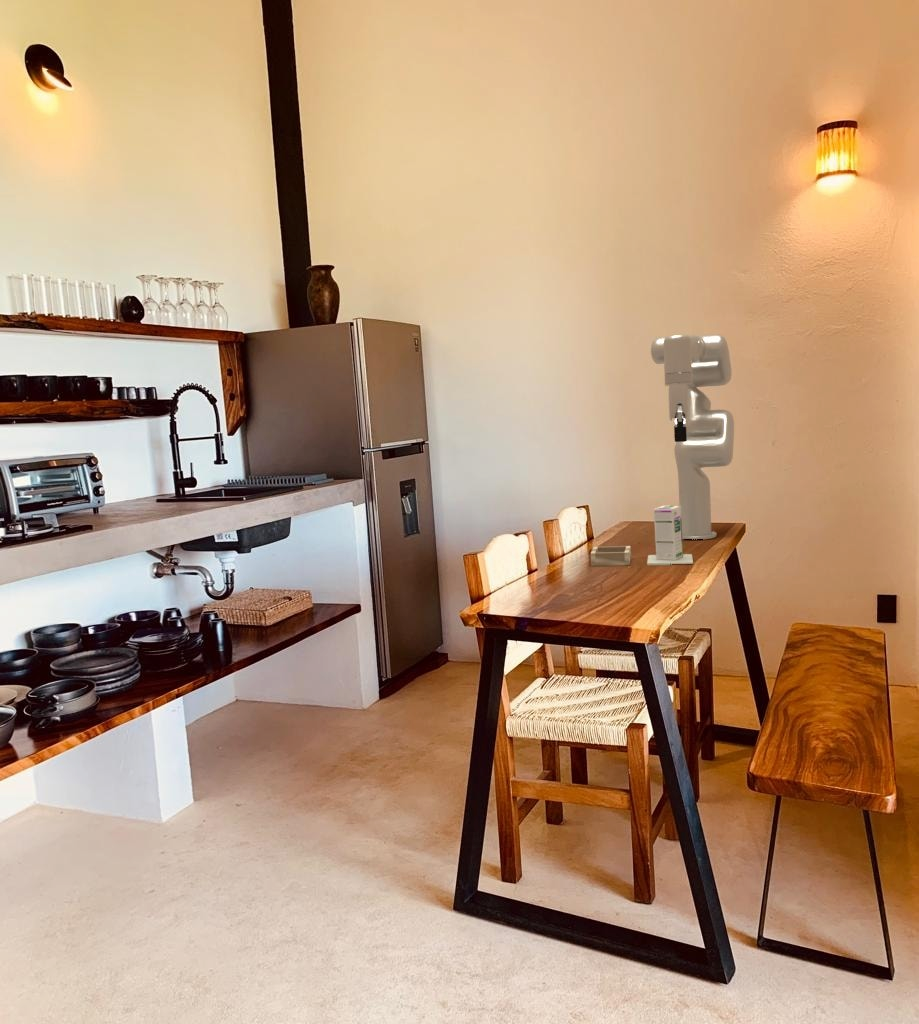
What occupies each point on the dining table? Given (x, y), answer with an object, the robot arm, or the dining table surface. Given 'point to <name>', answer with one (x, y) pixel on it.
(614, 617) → the dining table surface
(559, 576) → the dining table surface
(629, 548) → the holder
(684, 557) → the mat
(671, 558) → the syrup box
